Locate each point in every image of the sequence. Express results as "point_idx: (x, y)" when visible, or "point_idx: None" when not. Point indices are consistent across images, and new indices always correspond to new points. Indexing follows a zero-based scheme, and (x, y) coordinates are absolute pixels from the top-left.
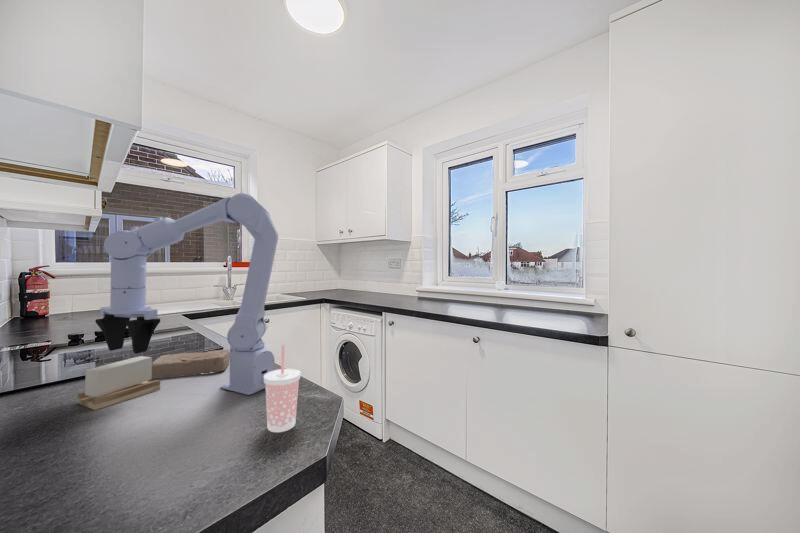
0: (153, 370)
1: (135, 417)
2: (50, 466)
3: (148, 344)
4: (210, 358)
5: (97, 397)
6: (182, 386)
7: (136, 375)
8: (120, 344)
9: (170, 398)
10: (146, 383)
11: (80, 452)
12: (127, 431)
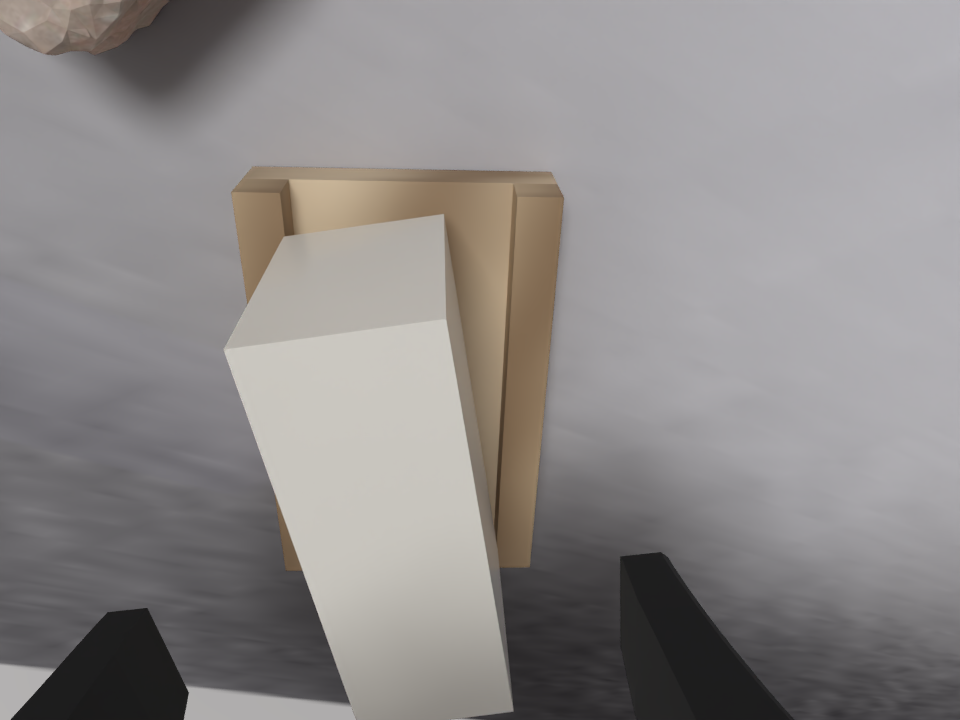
0: (118, 32)
1: (851, 472)
2: (902, 712)
3: (708, 619)
4: None
5: (499, 549)
6: (679, 24)
7: (467, 383)
8: (131, 677)
9: (819, 243)
10: (522, 292)
11: (914, 660)
12: (951, 545)
